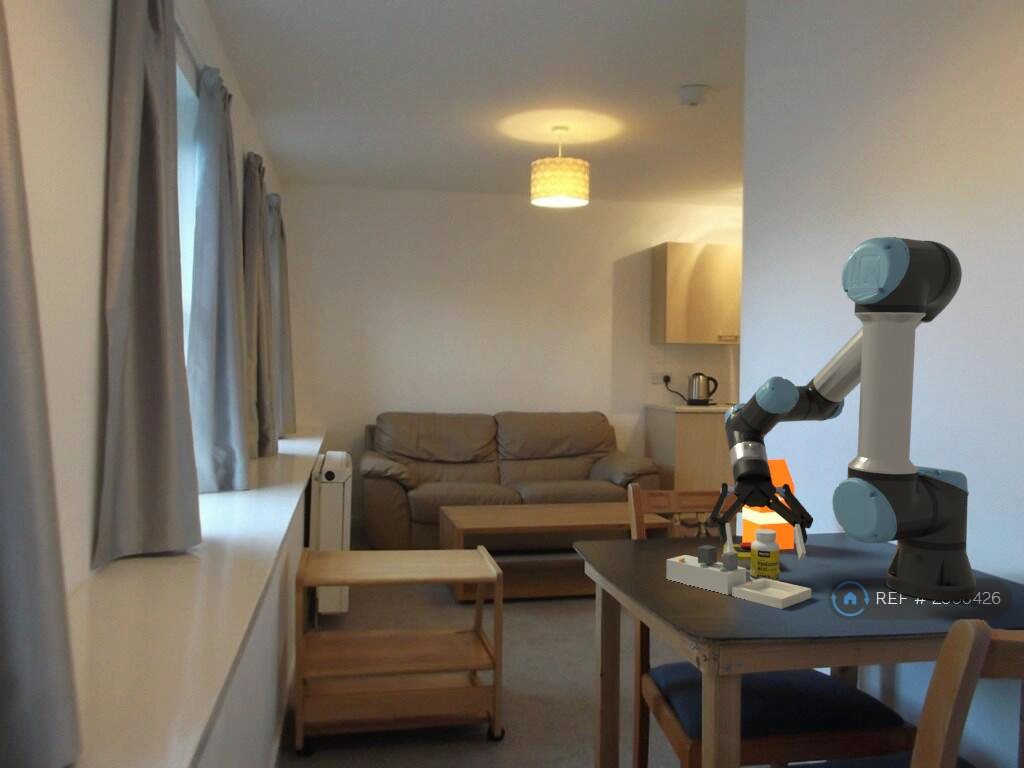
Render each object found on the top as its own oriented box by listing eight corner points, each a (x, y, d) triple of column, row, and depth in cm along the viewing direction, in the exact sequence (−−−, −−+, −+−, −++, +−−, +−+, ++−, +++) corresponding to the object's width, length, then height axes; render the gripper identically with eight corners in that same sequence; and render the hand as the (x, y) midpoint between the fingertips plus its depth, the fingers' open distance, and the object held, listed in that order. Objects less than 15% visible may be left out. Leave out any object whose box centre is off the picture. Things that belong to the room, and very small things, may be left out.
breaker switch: (717, 562, 161) (717, 547, 161) (708, 565, 160) (708, 549, 159) (706, 560, 163) (706, 544, 163) (697, 562, 161) (698, 547, 161)
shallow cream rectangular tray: (811, 597, 153) (811, 588, 153) (781, 608, 146) (781, 599, 146) (762, 586, 160) (762, 577, 160) (732, 596, 154) (732, 587, 154)
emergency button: (763, 537, 185) (782, 553, 170) (763, 557, 186) (781, 575, 171) (720, 537, 186) (735, 553, 171) (720, 556, 186) (735, 574, 171)
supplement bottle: (754, 584, 162) (755, 533, 162) (746, 577, 167) (747, 528, 167) (783, 584, 162) (783, 533, 162) (774, 577, 167) (774, 528, 167)
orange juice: (794, 548, 192) (795, 461, 191) (759, 550, 190) (760, 462, 189) (774, 541, 199) (776, 457, 199) (741, 543, 197) (742, 458, 196)
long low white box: (745, 589, 159) (746, 552, 158) (727, 595, 155) (727, 557, 154) (685, 574, 169) (685, 539, 169) (666, 579, 165) (666, 544, 165)
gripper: (692, 456, 175) (703, 544, 161) (815, 457, 174) (837, 546, 159) (688, 477, 181) (698, 564, 167) (807, 479, 179) (828, 567, 165)
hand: (766, 556), depth 163 cm, fingers open, 13 cm apart
